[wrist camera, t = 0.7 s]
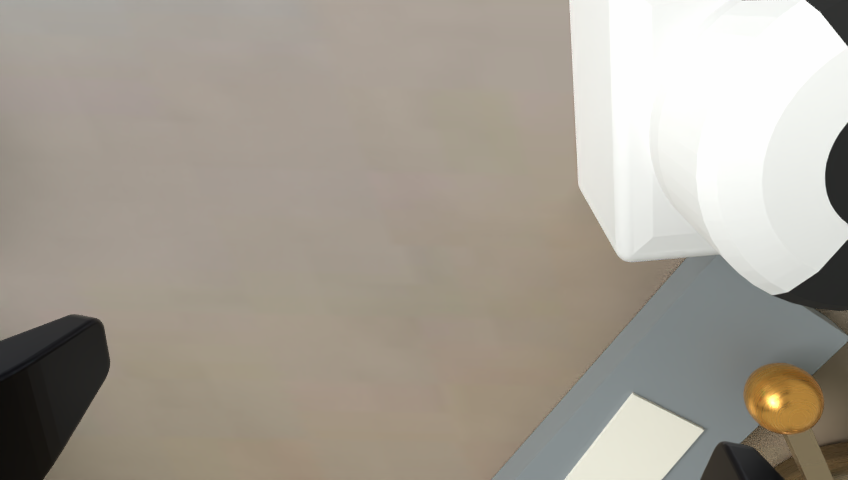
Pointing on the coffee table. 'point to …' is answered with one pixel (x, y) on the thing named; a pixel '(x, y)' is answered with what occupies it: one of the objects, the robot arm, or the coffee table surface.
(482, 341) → the coffee table surface
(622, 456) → the plate
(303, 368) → the coffee table surface
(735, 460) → the robot arm
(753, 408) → the crank handle
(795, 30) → the medicine bottle
